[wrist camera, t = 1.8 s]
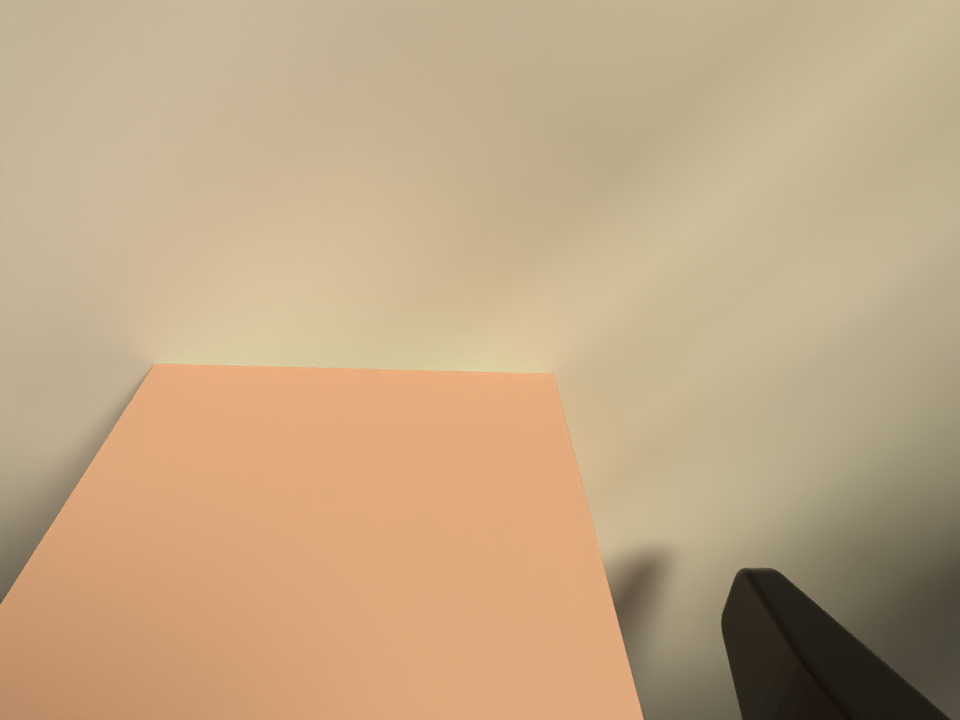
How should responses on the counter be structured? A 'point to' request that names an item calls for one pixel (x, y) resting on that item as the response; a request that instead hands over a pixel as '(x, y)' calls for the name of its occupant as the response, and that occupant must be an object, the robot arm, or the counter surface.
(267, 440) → the terracotta block
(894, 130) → the counter surface
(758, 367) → the counter surface
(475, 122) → the counter surface
